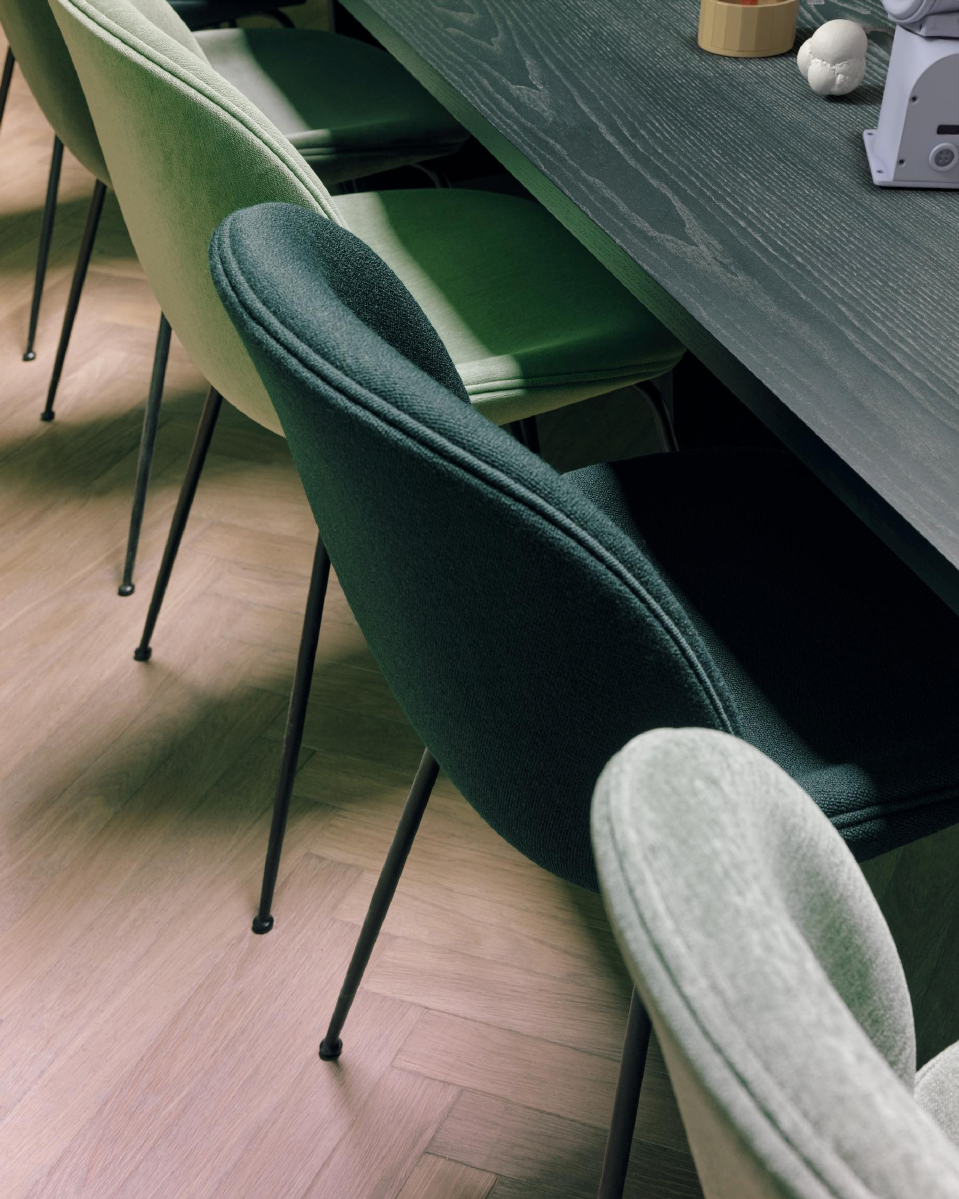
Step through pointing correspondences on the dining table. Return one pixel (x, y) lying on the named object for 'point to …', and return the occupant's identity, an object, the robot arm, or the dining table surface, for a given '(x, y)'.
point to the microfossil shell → (834, 58)
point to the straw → (749, 2)
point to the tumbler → (747, 27)
